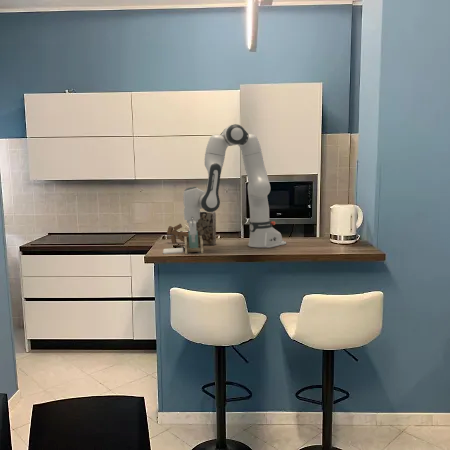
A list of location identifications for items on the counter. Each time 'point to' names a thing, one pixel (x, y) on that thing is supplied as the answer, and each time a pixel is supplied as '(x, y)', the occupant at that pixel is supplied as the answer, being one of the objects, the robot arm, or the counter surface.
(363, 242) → the counter surface
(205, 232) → the stone block
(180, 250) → the mat
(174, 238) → the figurine
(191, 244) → the block
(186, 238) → the channel
